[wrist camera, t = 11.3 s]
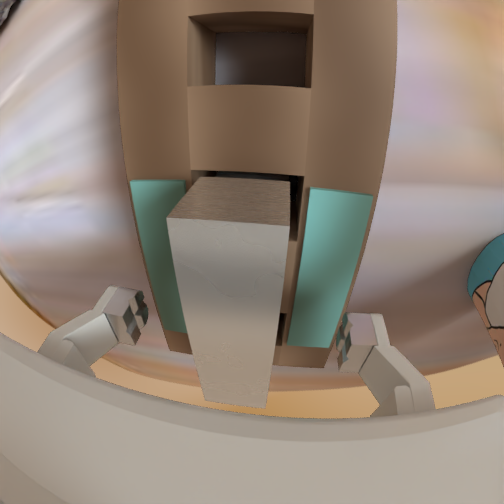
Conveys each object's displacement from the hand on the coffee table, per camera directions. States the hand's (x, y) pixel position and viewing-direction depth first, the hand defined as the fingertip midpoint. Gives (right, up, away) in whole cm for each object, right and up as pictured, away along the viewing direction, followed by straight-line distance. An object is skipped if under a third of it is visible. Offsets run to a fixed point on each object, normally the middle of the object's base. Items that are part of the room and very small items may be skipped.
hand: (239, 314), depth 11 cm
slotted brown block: (+1, +9, +1) cm, 9 cm away
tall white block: (+1, +3, +5) cm, 6 cm away
